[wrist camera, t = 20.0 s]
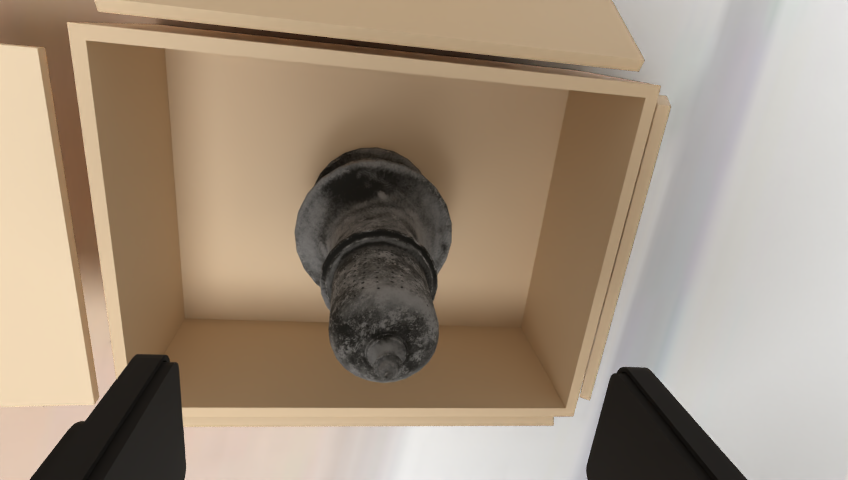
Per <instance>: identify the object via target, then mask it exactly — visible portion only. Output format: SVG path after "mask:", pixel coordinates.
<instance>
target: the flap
mask: <svg viewBox="0 0 848 480" xmlns="http://www.w3.org/2000/svg"><path fill="white" fill-rule="evenodd" d="M98 398H99V392H98V386H97V379H96V373H95V367H94V360H93V354H92V347H91V341H90V334H89V328H88V321H87V315H86V308H85V302H84V296H83V289H82V283H81V276H80V270H79V263H78V257H77V250H76V244H75V238H74V231H73V225H72V218H71V212H70V205H69V199H68V192H67V186H66V179H65V173H64V167H63V160H62V154H61V147H60V141H59V134H58V128H57V121H56V115H55V108H54V102H53V96H52V89H51V83H50V76H49V70H48V63H47V57H46V50H45V48H44V47H34V46H24V45H13V44H3V43H0V407H27V406H65V405H95V403H96V401H97V400H98Z"/></svg>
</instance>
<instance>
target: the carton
mask: <svg viewBox="0 0 848 480" xmlns="http://www.w3.org/2000/svg"><path fill="white" fill-rule="evenodd" d="M94 1H95V4H96V7H97V10H98V12H106V13H115V14H124V15H133V16H142V17H151V18H160V19H169V20H178V21H187V22H196V23H205V24H214V25H223V26H232V27H241V28H250V29H259V30H268V31H277V32H286V33H295V34H304V35H313V36H322V37H331V38H340V39H349V40H358V41H367V42H376V43H385V44H394V45H403V46H412V47H421V48H430V49H439V50H448V51H457V52H466V53H475V54H484V55H493V56H502V57H511V58H520V59H529V60H538V61H547V62H556V63H565V64H574V65H583V66H592V67H601V68H610V69H619V70H628V71H637V72H639V70H640V68H641V66H642V65H643V63H644V61H645V60H644V58H643V56H642V54H641V52H640V51H639V49H638V47H637V45H636V43H635V42H634V40H633V38H632V36H631V34H630V32H629V31H628V29H627V27H626V25H625V23H624V22H623V20H622V18H621V16H620V14H619V13H618V11H617V9H616V7H615V5H614V3H613V2H612V0H94ZM67 27H68V34H69V41H70V49H71V56H72V63H73V70H74V78H75V85H76V92H77V99H78V107H79V114H80V121H81V128H82V136H83V143H84V150H85V157H86V165H87V172H88V179H89V186H90V194H91V201H92V208H93V215H94V223H95V230H96V237H97V244H98V252H99V259H100V266H101V273H102V280H103V288H104V295H105V302H106V309H107V317H108V324H109V331H110V338H111V346H112V353H113V360H114V367H115V375H116V379H117V378H118V377H119V375H120V374H121V373H122V371H123V370H124V369H125V367H126V366H127V365H128V363H129V362H130V361H131V359H132V358H133V357H134V356H135V355H136V354H157V355H167V356H168V357H169V359H170V362H177V363H178V365H179V374H180V388H181V403H182V417H183V427H281V426H554V417H565V416H573V415H574V412H575V408H576V404H577V400H578V397H579V393H580V389H581V385H582V389H581V394H580V397H581V398H584V399H587V400H590V398H591V394H592V391H593V387H594V383H595V380H596V376H597V373H598V369H599V365H600V362H601V358H602V354H603V351H604V347H605V344H606V340H607V336H608V333H609V329H610V326H611V322H612V318H613V315H614V311H615V307H616V304H617V300H618V297H619V293H620V289H621V286H622V282H623V279H624V275H625V271H626V268H627V264H628V260H629V257H630V253H631V250H632V246H633V242H634V239H635V235H636V231H637V228H638V224H639V221H640V217H641V213H642V210H643V206H644V203H645V199H646V195H647V192H648V188H649V184H650V181H651V177H652V174H653V170H654V166H655V163H656V159H657V155H658V152H659V148H660V145H661V141H662V137H663V134H664V130H665V127H666V123H667V119H668V116H669V112H670V108H671V105H670V103H669V101H668V98H667V96H663V95H659V92H660V88H661V86H660V85H654V84H649V83H643V82H638V81H633V80H627V79H622V78H616V77H611V76H606V75H600V74H595V73H590V72H584V71H579V70H570V69H561V68H551V67H542V66H533V65H524V64H515V63H506V62H497V61H487V60H478V59H469V58H460V57H451V56H442V55H432V54H423V53H414V52H405V51H396V50H387V49H378V48H368V47H359V46H350V45H341V44H332V43H323V42H313V41H304V40H295V39H286V38H277V37H268V36H259V35H249V34H240V33H231V32H222V31H213V30H204V29H194V28H185V27H176V26H167V25H158V24H125V23H84V22H67ZM374 147H378V148H382V149H386V150H391V151H394V152H396V153H398V154H400V155H402V156H404V157H405V158H407V159H408V160H410V161H411V162H412V163H413V164H414V165H415V166H416V167H417V168H418V169H419V170H420V172H421V173H422V175H423V176H424V177H425V178H426V179H428V180H429V181H430V182H431V183H432V184H433V185H434V186H435V187H436V188H437V190H438V191H439V193H440V195H441V196H442V198H443V200H444V201H445V203H446V204H447V208H448V211H449V215H450V219H451V222H452V243H451V246H450V249H449V253H448V256H447V260H446V261H445V263H444V265H443V266H442V268H441V270H440V271H439V273H438V275H437V278H438V288H437V291H436V295H435V298H434V301H433V304H434V308H435V311H436V315H437V318H438V322H439V338H438V343H437V347H436V350H435V353H434V354H433V356H432V358H431V359H430V361H429V362H428V363H427V364H426V365H425V366H424V367H423V368H422V369H421V370H420V371H418V372H417V373H415V374H413V375H411V376H410V377H408V378H406V379H403V380H399V381H396V382H387V383H380V382H372V381H368V380H365V379H362V378H360V377H357V376H355V375H353V374H352V373H351V372H349V371H348V370H346V369H345V368H344V367H343V366H342V365H341V364H340V362H339V361H338V360H337V359H336V356H335V354H334V352H333V350H332V347H331V344H330V340H329V331H328V328H329V316H330V310H329V309H328V308H327V307H326V304H325V302H324V300H323V297H322V295H321V289H320V287H319V286H318V285H317V284H316V283H315V282H314V281H313V280H312V278H311V277H310V276H309V274H308V273H307V272H306V271H305V269H304V268H303V265H302V263H301V260H300V258H299V256H298V253H297V250H296V241H295V226H296V220H297V215H298V211H299V209H300V207H301V205H302V203H303V201H304V199H305V197H306V195H307V193H308V192H309V191H310V190H311V189H312V188H313V187H314V185H315V183H316V181H317V179H318V177H319V175H320V173H321V172H322V171H323V170H324V169H325V167H326V166H327V165H328V164H329V163H330V162H331V161H333V160H334V159H336V158H337V157H339V156H341V155H342V154H344V153H346V152H349V151H352V150H356V149H359V148H374ZM584 374H585V375H584ZM583 378H584V380H583ZM582 382H583V384H582Z"/></svg>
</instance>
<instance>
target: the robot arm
mask: <svg viewBox="0 0 848 480" xmlns="http://www.w3.org/2000/svg"><path fill="white" fill-rule="evenodd" d="M586 472H587V479H588V480H747V479H746V478H745V477H744V476H743V474H742V473H741V472H740V471H739V470H738V469H737V468H736V466H735V465H734V464H733V463H732V462H731V461H730V460H729V459H728V457H727V456H726V455H725V454H724V453H723V452H722V451H721V450H720V448H719V447H718V446H717V445H716V444H715V443H714V442H713V440H712V439H711V438H710V437H709V436H708V435H707V434H706V433H705V431H704V430H703V429H702V428H701V427H700V426H699V425H698V423H697V422H696V421H695V420H694V419H693V418H692V417H691V416H690V414H689V413H688V412H687V411H686V410H685V409H684V408H683V407H682V405H681V404H680V403H679V402H678V401H677V400H676V399H675V397H674V396H673V395H672V394H671V393H670V392H669V391H668V390H667V388H666V387H665V386H664V385H663V384H662V383H661V382H660V380H659V379H658V378H657V377H656V376H655V375H654V374H653V373H652V371H651V370H649V369H648V368H640V367H622V368H620V369H619V370H618V372H617V373H614V374H612V376H611V378H610V380H609V384H608V388H607V392H606V395H605V399H604V403H603V407H602V410H601V414H600V418H599V422H598V425H597V429H596V433H595V436H594V440H593V444H592V448H591V451H590V455H589V459H588V463H587V468H586ZM185 473H186V459H185V445H184V431H183V417H182V403H181V388H180V374H179V365H178V363H177V362H170V359H169V357H168V356H167V355H157V354H136V355H135V356H134V357H133V358H132V359H131V361H130V362H129V363H128V365H127V366H126V367H125V369H124V370H123V371H122V373H121V374H120V375H119V377H118V378H117V379H116V381H115V382H114V383H113V385H112V386H111V387H110V389H109V390H108V391H107V393H106V394H105V395H104V397H103V398H102V399H101V401H100V402H99V403H98V405H97V406H96V407H95V409H94V410H93V411H92V413H91V414H90V415H89V417H88V418H87V419H86V421H80V422H77V423H75V424H74V425H73V426H72V427H71V428H70V429H69V430H68V431H67V432H66V434H65V435H64V436H63V437H62V439H61V440H60V441H59V443H58V444H57V445H56V446H55V448H54V449H53V450H52V452H51V453H50V454H49V455H48V457H47V458H46V459H45V461H44V462H43V463H42V464H41V466H40V467H39V468H38V470H37V471H36V472H35V474H34V475H33V476H32V477H31V479H30V480H184V478H185Z"/></svg>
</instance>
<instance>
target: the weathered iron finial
mask: <svg viewBox="0 0 848 480" xmlns="http://www.w3.org/2000/svg"><path fill="white" fill-rule="evenodd" d="M295 241H296V250H297V253H298V256H299V258H300V260H301V263H302V265H303V268H304V269H305V271H306V272H307V273H308V274H309V276H310V277H311V278H312V280H313V281H314V282H315V283H316V284H317V285H318V286H319V287H320V289H321V295H322V297H323V300H324V302H325V304H326V307H327V308H328V309H329V310H330V316H329V328H328V331H329V340H330V344H331V347H332V350H333V352H334V354H335V356H336V359H337V360H338V361H339V362H340V364H341V365H342V366H343V367H344V368H345V369H346V370H348V371H349V372H351V373H352V374H353V375H355V376H357V377H360V378H362V379H365V380H368V381H372V382H380V383H387V382H396V381H399V380H403V379H406V378H408V377H410V376H411V375H413V374H415V373H417V372H418V371H420V370H421V369H422V368H423V367H424V366H425V365H426V364H427V363H428V362H429V361H430V359H431V358H432V356H433V354H434V353H435V350H436V347H437V343H438V338H439V322H438V318H437V315H436V311H435V308H434V304H433V301H434V298H435V295H436V291H437V288H438V278H437V275H438V273H439V271H440V270H441V268H442V266H443V265H444V263H445V261H446V260H447V256H448V253H449V249H450V246H451V243H452V222H451V219H450V215H449V211H448V208H447V204H446V203H445V201H444V200H443V198H442V196H441V195H440V193H439V191H438V190H437V188H436V187H435V186H434V185H433V184H432V183H431V182H430V181H429V180H428V179H426V178H425V177H424V176H423V175H422V173H421V172H420V170H419V169H418V168H417V167H416V166H415V165H414V164H413V163H412V162H411V161H410V160H408V159H407V158H405V157H404V156H402V155H400V154H398V153H396V152H394V151H391V150H386V149H382V148H378V147H374V148H359V149H356V150H352V151H349V152H346V153H344V154H342V155H341V156H339V157H337V158H336V159H334V160H333V161H331V162H330V163H329V164H328V165H327V166H326V167H325V169H324V170H323V171H322V172H321V173H320V175H319V177H318V179H317V181H316V183H315V185H314V187H313V188H312V189H311V190H310V191H309V192H308V193H307V195H306V197H305V199H304V201H303V203H302V205H301V207H300V209H299V211H298V215H297V220H296V226H295Z"/></svg>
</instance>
